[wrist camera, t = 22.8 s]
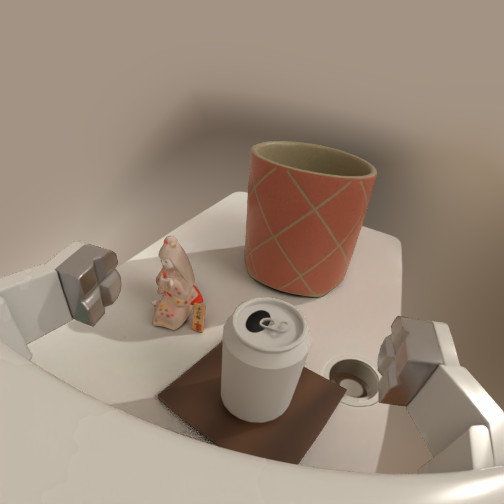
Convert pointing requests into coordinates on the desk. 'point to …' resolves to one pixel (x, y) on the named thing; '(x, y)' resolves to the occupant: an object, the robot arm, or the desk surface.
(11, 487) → the robot arm
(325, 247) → the planter
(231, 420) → the board
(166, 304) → the figurine
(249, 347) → the can
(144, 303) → the desk surface
